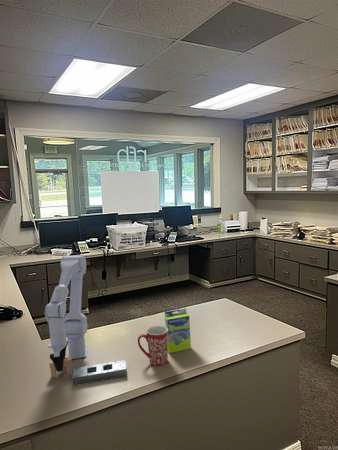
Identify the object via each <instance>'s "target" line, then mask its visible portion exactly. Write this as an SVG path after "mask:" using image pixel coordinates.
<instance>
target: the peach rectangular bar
mask: <svg viewBox="0 0 338 450" xmlns="http://www.w3.org/2000/svg"><path fill="white" fill-rule="evenodd" d="M72 361H73V359H71V357H68V356H67V357H65V358H64V361H63V367H66V374H67V376H70V375H69V374H71V375H73V367H72V363H73V362H72ZM48 364H49V369H50V377H51V378H52V377H53V378H56V377H57V373H58V372H57V371H56V368H55V365H54V363H53V361H52V360H51V359H50V360H49V363H48Z"/></svg>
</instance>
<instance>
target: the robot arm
mask: <svg viewBox="0 0 338 450" xmlns="http://www.w3.org/2000/svg"><path fill="white" fill-rule="evenodd" d="M60 268H61V273H60V274H61V275H60V278H59V283H58V285H57V286H55V287H54V290H53V293H52V296H51V298H50V302H49V303H48V304H46V306H45V308H44V317H45V318H46V322H47V323H48V329H49V339H50V343H48V345H47V348H50V349H51V350H52V352H53V353H50V354H49V359H50V360H52V361H53V363H54V365H55V368H56V373H58V372H63V369H64V366H63V361H64V358H66V354H67V353H66V352H67V349H68V355H67V358H68V357H71V360H76V359H82V357H83V358H86V357H87V355H88V346H86V342H85V341H86V340H85V339H86V338H85V335H86V334H87V332H88V329H89V328H88V327H89V325H88V317H87V316H86V315H85V314H84V313H82V296H83V277H84V275H85V274H86V271H87V259H86V257H85V255H84V254H80V255H79V254H78V255H63V256H62V257H61V259H60ZM69 285H70V290H69ZM69 293H70V295H69ZM68 296H69V313H67V303H66V302H67V299H68ZM66 313H67V314H66ZM67 347H68V348H67Z"/></svg>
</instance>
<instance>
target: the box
mask: <svg viewBox="0 0 338 450" xmlns="http://www.w3.org/2000/svg"><path fill="white" fill-rule="evenodd" d="M176 312H177V313H176ZM164 322H165V323H164V324H165V326H164V327H166V328H168V354H171V353H176V352H180V351H181V352H182V351H186V350H189V349H191V350H192V344H191V343H192V341H191V325H190V324H191V323H190V322H191V321H190V314H188V313H187V308H185V307H184V308H180V309H179V308H178V309H175V310H169V311H168V310H167V311H164Z"/></svg>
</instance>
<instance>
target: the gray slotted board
mask: <svg viewBox="0 0 338 450" xmlns="http://www.w3.org/2000/svg"><path fill="white" fill-rule="evenodd" d="M127 376H128V371H127V364H126V360H125V359H123V360H117V361H111V362H110V361H109V362H105V363H99V364H93V365H85V366H80V367H74V368H73V369H72V376H71V378H72V379H71V380H72V386H73V385H74V386H78V384H80V385H86V384H91V383H95V382H96V381H97V382H102V380H103V381H108V380H113V379H119V378H124V377H127ZM90 382H91V383H90Z"/></svg>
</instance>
